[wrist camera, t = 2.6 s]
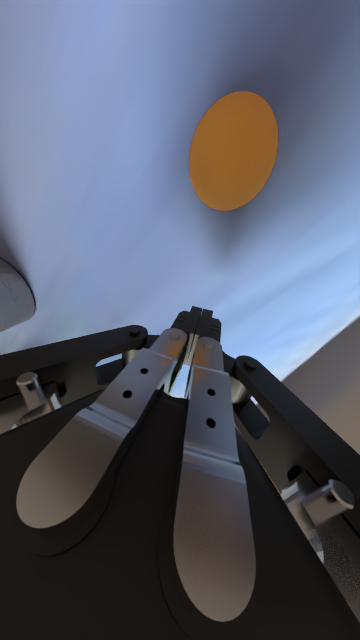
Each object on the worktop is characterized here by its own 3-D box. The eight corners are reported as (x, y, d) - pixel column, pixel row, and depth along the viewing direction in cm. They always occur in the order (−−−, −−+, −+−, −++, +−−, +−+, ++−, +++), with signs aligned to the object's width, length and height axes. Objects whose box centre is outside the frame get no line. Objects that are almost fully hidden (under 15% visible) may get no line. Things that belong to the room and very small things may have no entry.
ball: (206, 224, 14) (198, 221, 10) (186, 151, 12) (165, 106, 8) (272, 196, 12) (298, 176, 8) (259, 105, 10) (286, 15, 6)
